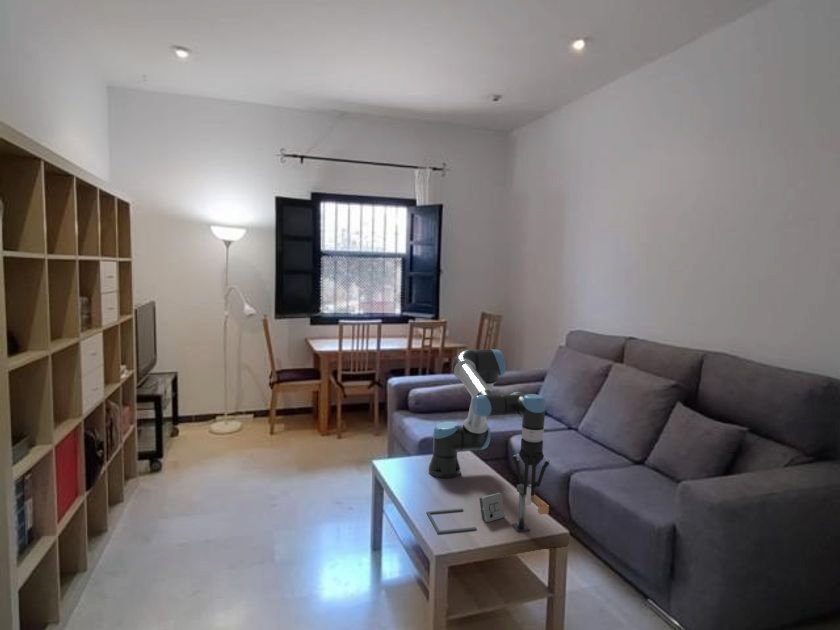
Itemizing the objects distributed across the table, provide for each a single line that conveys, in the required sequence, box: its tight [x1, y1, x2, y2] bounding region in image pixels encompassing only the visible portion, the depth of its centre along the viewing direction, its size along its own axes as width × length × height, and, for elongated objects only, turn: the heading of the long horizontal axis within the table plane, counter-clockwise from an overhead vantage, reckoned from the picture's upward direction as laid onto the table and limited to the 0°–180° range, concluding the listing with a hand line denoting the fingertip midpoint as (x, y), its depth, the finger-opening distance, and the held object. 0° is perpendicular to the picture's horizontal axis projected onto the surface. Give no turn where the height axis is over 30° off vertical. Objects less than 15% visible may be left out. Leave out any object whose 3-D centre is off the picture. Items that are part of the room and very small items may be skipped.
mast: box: [511, 492, 531, 533], centre depth 187 cm, size 5×5×14 cm
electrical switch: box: [478, 492, 505, 523], centre depth 195 cm, size 9×5×9 cm, turn 121°
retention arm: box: [516, 483, 550, 515], centre depth 180 cm, size 17×4×4 cm, turn 19°
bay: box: [425, 508, 478, 535], centre depth 191 cm, size 16×15×1 cm
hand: (528, 503), depth 177 cm, fingers closed
